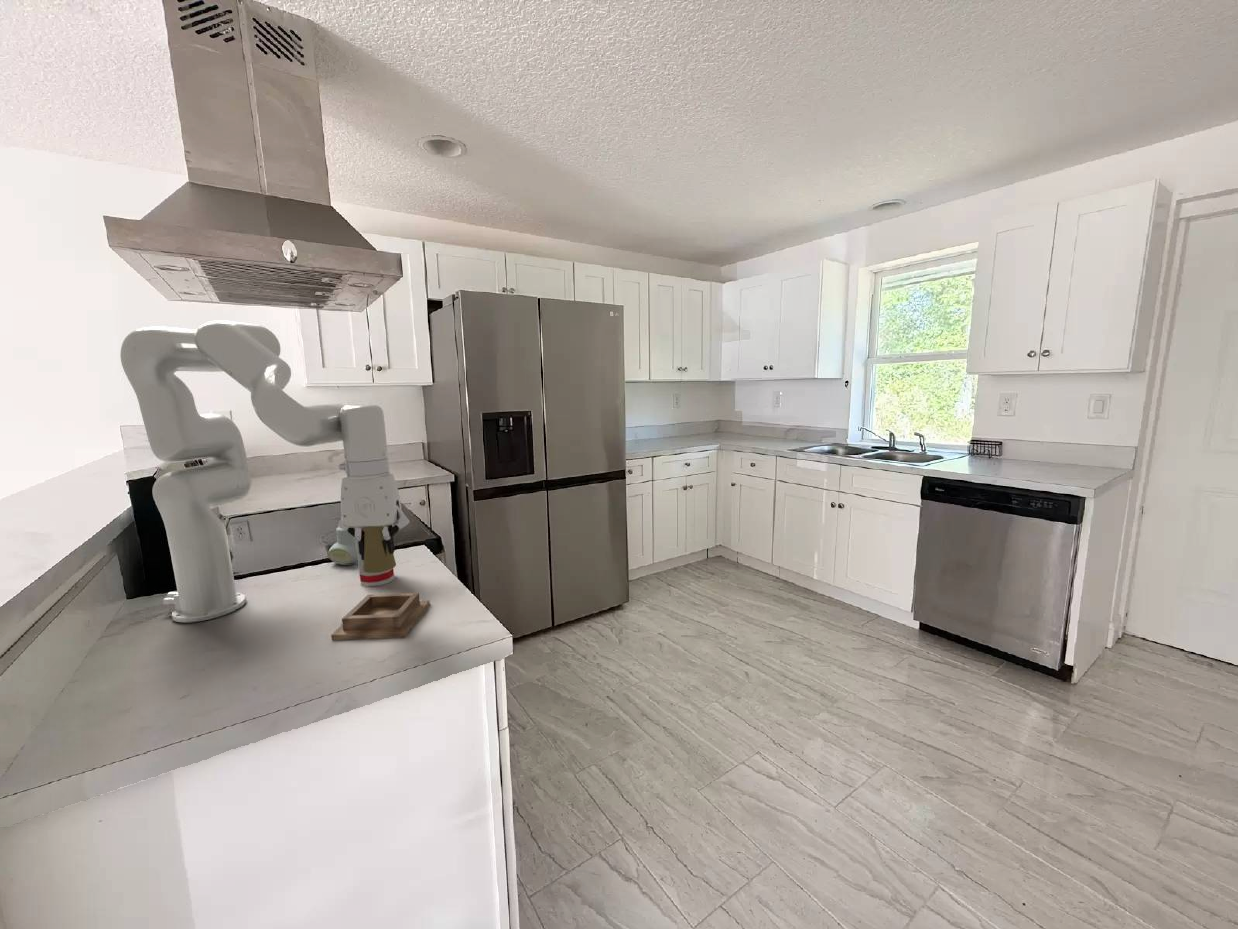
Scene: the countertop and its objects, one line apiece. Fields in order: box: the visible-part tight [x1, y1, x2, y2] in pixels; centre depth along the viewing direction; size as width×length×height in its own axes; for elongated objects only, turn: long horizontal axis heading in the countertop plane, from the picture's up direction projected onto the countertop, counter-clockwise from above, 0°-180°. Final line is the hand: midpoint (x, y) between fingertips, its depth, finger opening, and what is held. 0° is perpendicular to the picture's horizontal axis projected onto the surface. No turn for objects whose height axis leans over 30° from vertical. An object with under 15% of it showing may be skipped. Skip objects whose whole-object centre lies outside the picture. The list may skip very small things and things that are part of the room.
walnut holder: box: [330, 592, 431, 641], centre depth 102 cm, size 14×14×4 cm
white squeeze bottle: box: [356, 541, 395, 587], centre depth 121 cm, size 8×8×25 cm
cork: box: [361, 526, 397, 573], centre depth 99 cm, size 6×6×11 cm
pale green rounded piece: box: [327, 526, 358, 566], centre depth 136 cm, size 11×8×10 cm
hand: (377, 556), depth 100 cm, fingers closed on cork, 3 cm apart
